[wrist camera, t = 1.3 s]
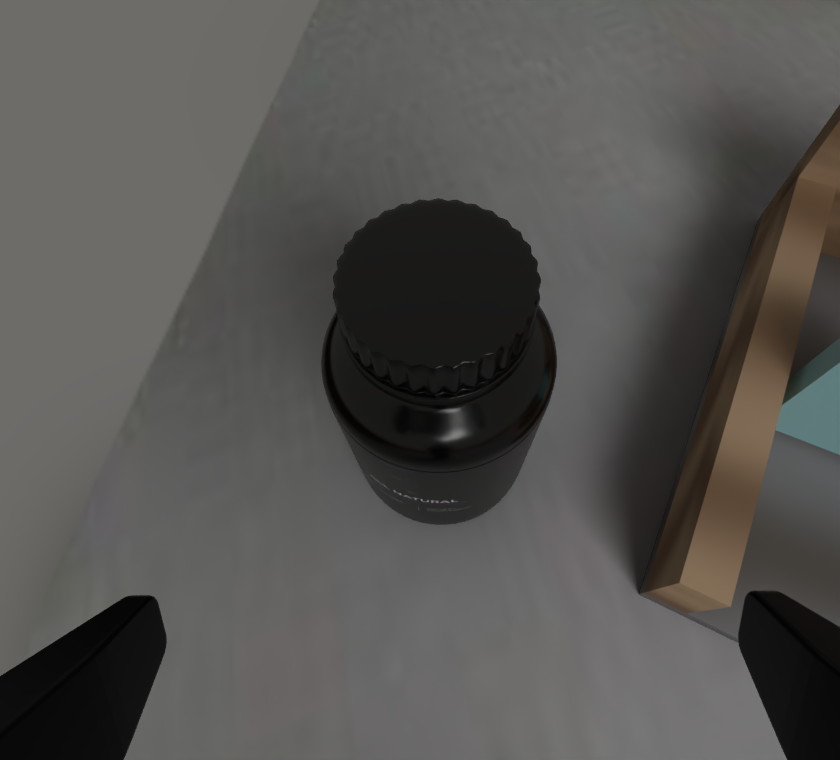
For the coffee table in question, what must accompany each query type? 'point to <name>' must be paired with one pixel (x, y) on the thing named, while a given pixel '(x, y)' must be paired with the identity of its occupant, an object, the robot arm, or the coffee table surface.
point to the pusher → (814, 402)
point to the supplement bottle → (438, 357)
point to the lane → (763, 425)
